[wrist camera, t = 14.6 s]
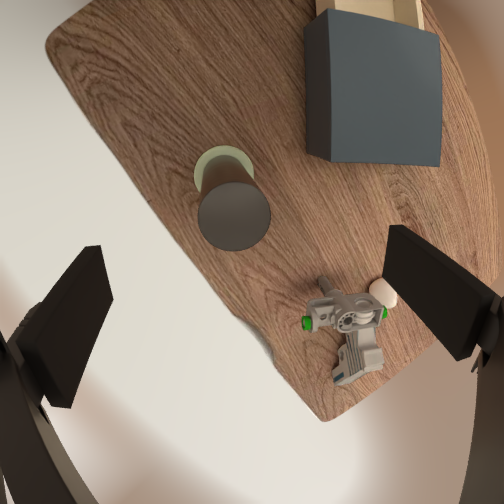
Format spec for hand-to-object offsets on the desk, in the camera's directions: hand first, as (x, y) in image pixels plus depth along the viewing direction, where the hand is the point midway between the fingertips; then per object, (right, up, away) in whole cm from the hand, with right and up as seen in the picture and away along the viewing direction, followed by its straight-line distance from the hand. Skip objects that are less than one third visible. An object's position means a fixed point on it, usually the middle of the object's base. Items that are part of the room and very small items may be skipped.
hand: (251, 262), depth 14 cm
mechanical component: (+10, -3, +30) cm, 31 cm away
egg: (+19, -5, +31) cm, 37 cm away
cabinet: (+13, +20, +20) cm, 31 cm away
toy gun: (+15, -14, +35) cm, 40 cm away
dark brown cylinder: (-3, +9, +22) cm, 24 cm away
